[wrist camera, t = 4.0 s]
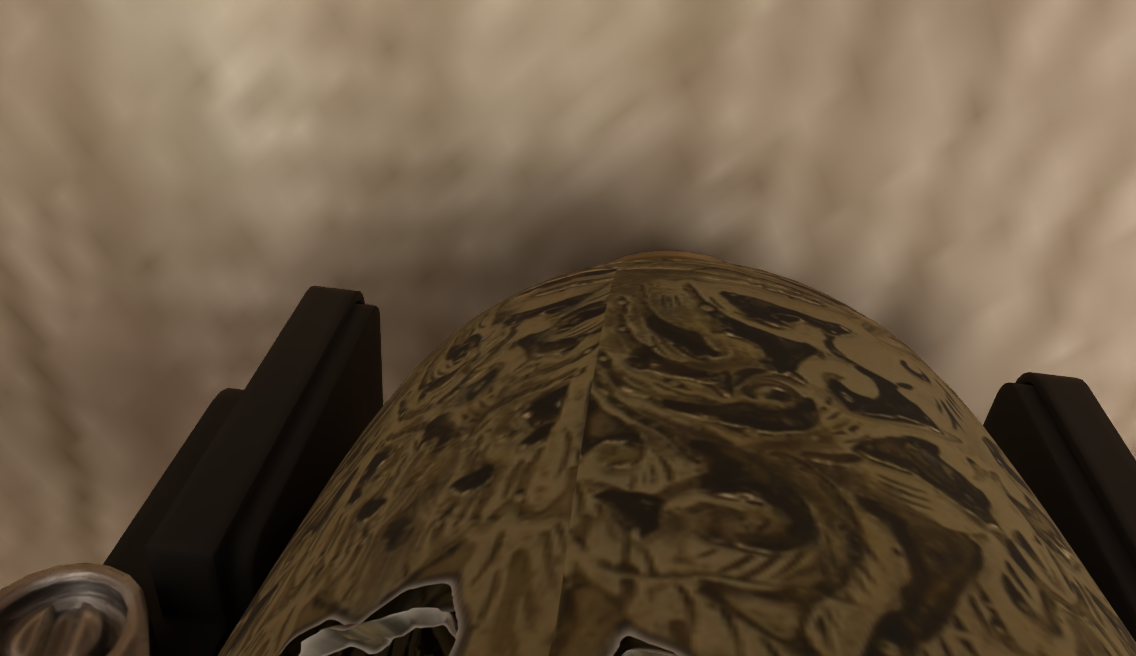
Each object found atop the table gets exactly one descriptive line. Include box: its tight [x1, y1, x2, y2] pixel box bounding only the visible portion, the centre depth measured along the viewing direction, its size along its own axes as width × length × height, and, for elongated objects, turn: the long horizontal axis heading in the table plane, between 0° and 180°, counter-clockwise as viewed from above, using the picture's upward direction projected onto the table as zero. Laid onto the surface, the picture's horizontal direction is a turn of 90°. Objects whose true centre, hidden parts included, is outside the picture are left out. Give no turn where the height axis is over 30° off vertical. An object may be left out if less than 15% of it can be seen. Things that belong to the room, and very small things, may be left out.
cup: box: [218, 250, 1136, 656], centre depth 9 cm, size 8×7×8 cm
